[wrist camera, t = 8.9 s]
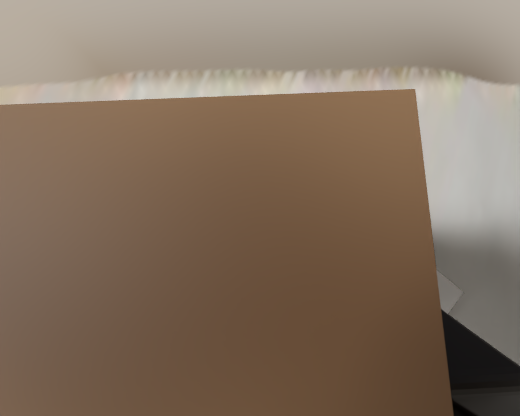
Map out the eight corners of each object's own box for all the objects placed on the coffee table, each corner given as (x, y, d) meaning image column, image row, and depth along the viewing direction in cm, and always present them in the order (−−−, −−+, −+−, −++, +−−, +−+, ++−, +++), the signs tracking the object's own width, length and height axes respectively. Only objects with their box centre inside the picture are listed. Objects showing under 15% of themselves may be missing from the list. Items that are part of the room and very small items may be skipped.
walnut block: (298, 314, 16) (477, 618, 3) (201, 317, 16) (-89, 639, 3) (293, 217, 16) (415, 89, 3) (200, 221, 16) (-34, 105, 3)
